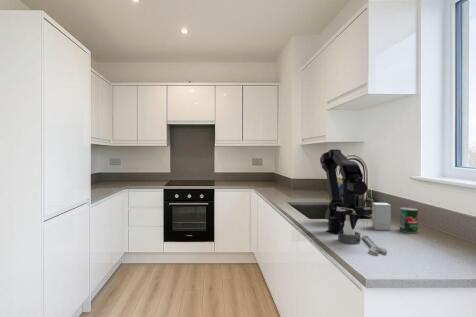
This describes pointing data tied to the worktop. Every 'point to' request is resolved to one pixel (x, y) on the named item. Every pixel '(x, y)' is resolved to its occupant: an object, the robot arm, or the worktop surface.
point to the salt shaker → (348, 227)
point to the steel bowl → (349, 238)
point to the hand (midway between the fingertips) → (349, 228)
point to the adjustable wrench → (374, 247)
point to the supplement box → (381, 216)
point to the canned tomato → (408, 220)
